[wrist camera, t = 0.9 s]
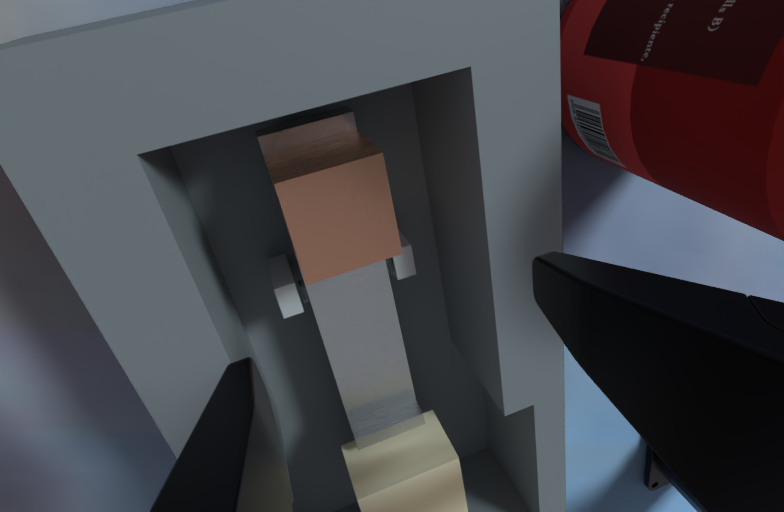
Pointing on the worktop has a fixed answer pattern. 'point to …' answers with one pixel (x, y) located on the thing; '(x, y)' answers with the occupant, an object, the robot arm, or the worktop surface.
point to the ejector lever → (346, 262)
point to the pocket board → (267, 227)
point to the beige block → (408, 472)
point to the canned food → (682, 97)
